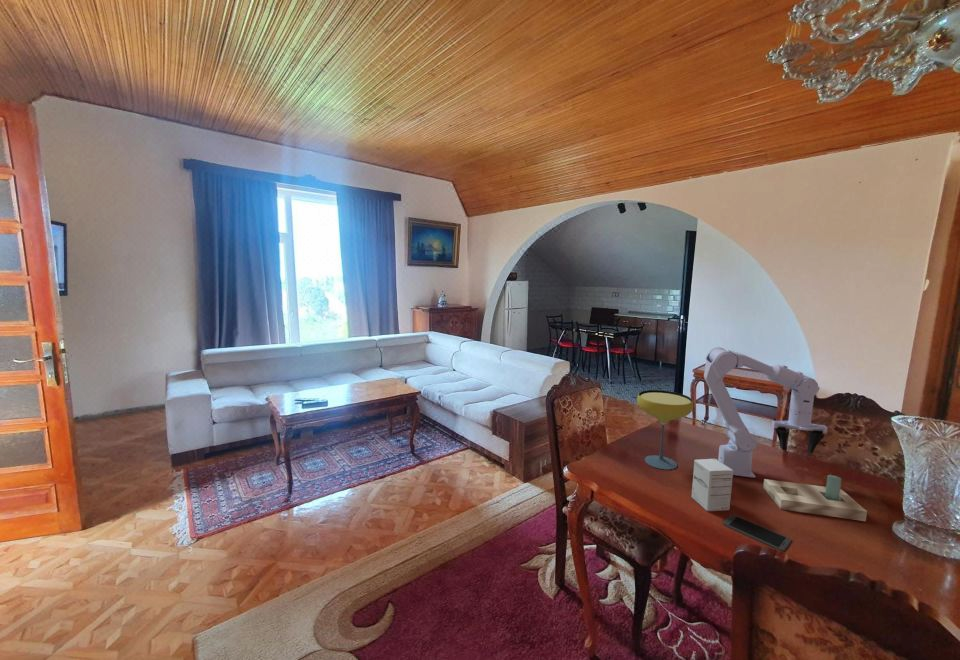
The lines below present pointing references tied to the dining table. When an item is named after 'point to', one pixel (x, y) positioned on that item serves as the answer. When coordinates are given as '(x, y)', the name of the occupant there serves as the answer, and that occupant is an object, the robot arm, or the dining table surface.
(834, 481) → the peg
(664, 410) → the cocktail glass
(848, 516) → the hole block
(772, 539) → the cell phone
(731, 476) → the supplement box
